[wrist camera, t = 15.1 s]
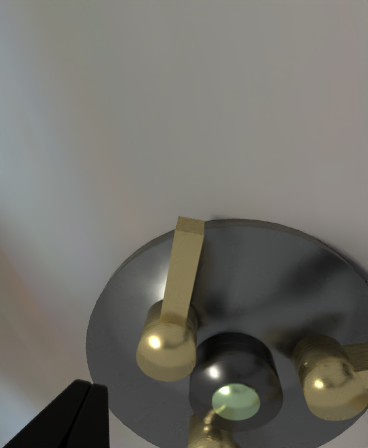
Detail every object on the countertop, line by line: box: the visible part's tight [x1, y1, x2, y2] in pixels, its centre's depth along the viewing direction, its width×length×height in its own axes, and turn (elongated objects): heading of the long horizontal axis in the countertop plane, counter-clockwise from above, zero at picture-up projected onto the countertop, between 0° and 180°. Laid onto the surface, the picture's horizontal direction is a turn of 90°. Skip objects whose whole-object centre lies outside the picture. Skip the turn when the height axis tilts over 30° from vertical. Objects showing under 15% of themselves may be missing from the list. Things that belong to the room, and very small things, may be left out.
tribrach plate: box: [86, 219, 368, 448], centre depth 20 cm, size 20×20×4 cm
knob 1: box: [136, 216, 204, 382], centre depth 17 cm, size 9×3×3 cm, turn 170°
